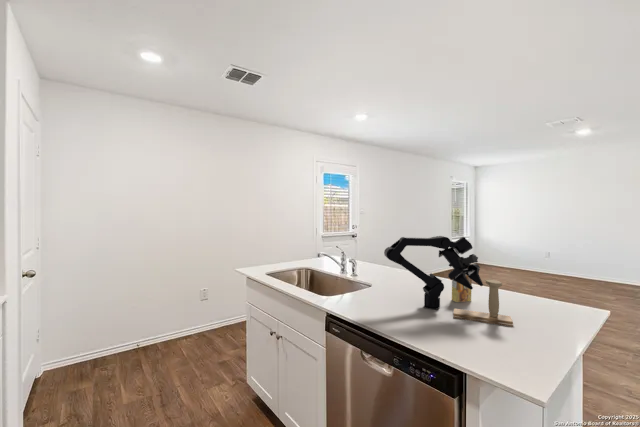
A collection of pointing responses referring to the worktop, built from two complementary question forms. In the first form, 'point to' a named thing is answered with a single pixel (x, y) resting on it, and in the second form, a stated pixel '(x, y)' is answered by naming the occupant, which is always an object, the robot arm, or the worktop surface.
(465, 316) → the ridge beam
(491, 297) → the handle
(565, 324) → the worktop surface
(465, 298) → the candy box
